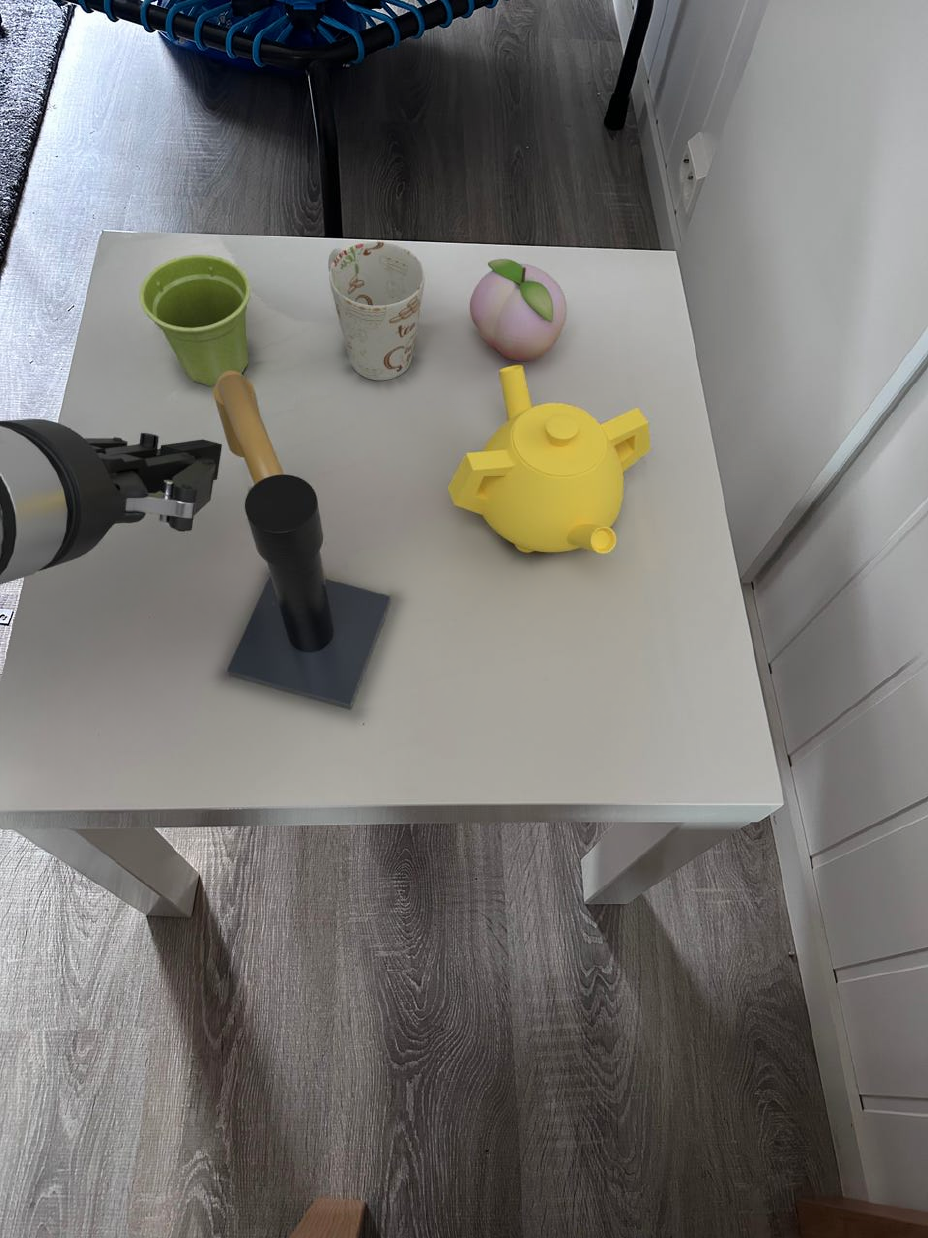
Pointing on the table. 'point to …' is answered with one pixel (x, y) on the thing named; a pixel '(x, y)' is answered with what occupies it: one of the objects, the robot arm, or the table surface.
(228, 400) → the spout
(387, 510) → the table surface
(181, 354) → the plant pot
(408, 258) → the mug
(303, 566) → the square base plate
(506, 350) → the decorative fruit
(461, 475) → the teapot
